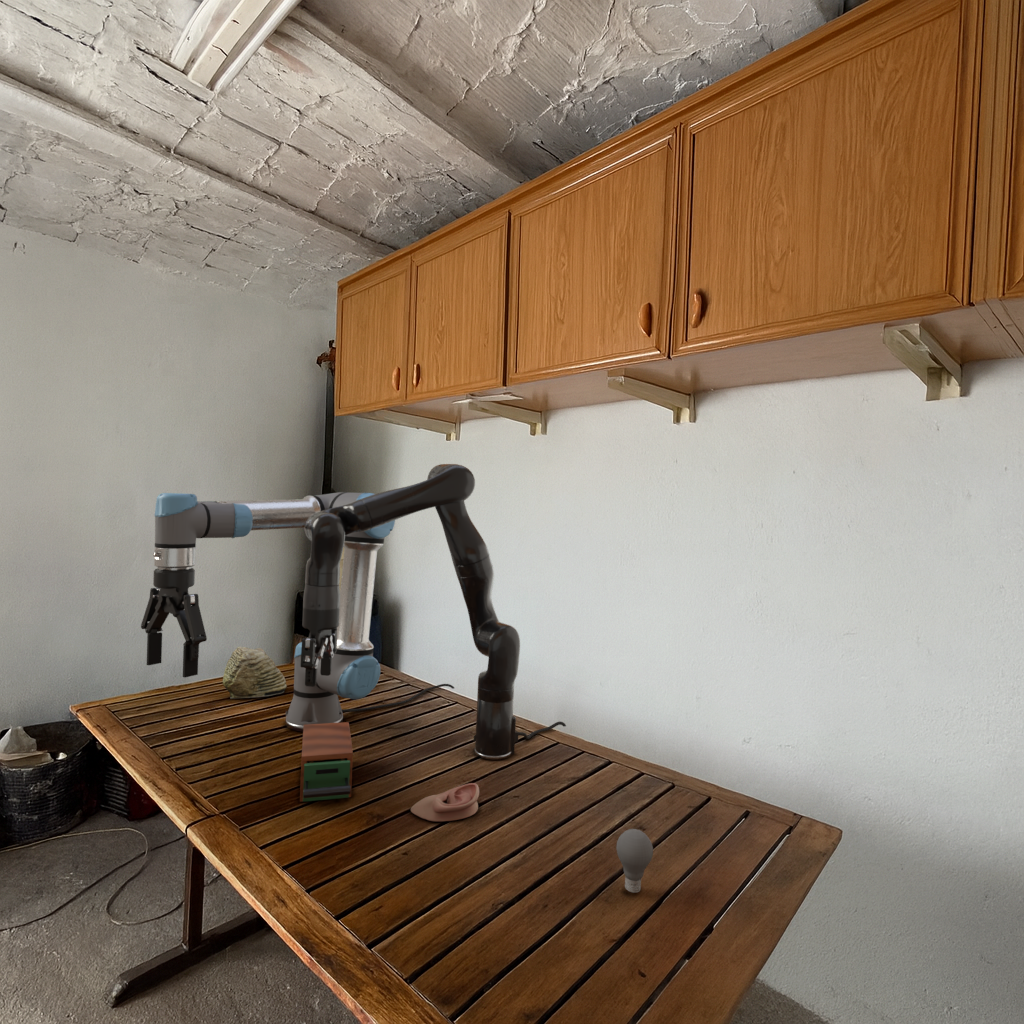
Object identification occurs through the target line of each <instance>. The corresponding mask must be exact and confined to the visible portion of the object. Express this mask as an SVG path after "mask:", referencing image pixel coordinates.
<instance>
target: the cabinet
mask: <svg viewBox="0 0 1024 1024" xmlns="http://www.w3.org/2000/svg"><path fill="white" fill-rule="evenodd" d="M351 737H352V736H351V729H350V722H349V721H346V722H345V721H343V722H341V723H325V724H308V725H304V727H303V732H302V744H301V745H302V746H301V747H302V748H301V760H300V761H301V763H300V764H301V765H300V768H301V769H300V785H299V787H300V788H299V789H300V790H299V803H302V802H303V785H304V764H306V763H309V761H317V760H330V759H343V758H345V760H350V780H349V785H350V794H349V797H348V798H352V783H353V782H352V781H353V757H354V752H353V751H354V750H353V744H352V743H353V742H352V738H351Z"/></svg>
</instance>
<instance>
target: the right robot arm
mask: <svg viewBox="0 0 1024 1024" xmlns="http://www.w3.org/2000/svg"><path fill="white" fill-rule="evenodd" d="M475 486H476V479H475V476H474V474H473V472H472V471H471V469H469V468H468V467H466V466H464V465H462V464H458V463H439V464H437V465H435V466H433V467H432V468H431V469H430V471H429V472H428V475H427V479H425V480H423V481H420V482H418V483H414V484H411V485H407V486H403V487H399V488H394V489H390V490H385V491H381V492H378V493H373V494H374V495H371V496H368V497H365V498H362V499H360V500H357V501H354V502H352V503H350V504H347V505H343V506H338V507H334V508H330V509H327V510H323V511H320V512H317V513H315V514H313V515H312V516H310V517H309V518H308V520H307V521H306V523H305V528H304V533H305V536H306V537H307V539H308V540H309V541H310V542H311V547H310V548H311V549H310V557H309V558H308V559H307V561H306V565H305V579H304V580H305V581H304V583H305V585H304V591H303V601H302V624H301V626H302V628H304V629H306V630H308V631H309V634H308V637H302V640H301V642H302V649H301V664H300V666H301V667H304V668H306V670H305V685H306V686H310V687H314V686H315V685H316V683H317V666H318V662H319V660H320V659H321V670H320V674H321V675H324V676H329V675H330V674H331V665H332V658H333V656H334V653H336V651H337V627H338V626H339V609H340V590H341V588H340V578H341V577H340V576H341V560H342V556H343V553H344V541H345V535H348V534H350V533H353V532H363V531H367V530H370V529H372V528H375V527H378V526H381V525H383V524H386V523H388V522H391V521H394V520H395V521H396V520H399V519H401V518H404V517H407V516H409V515H412V514H415V513H417V512H422V511H425V510H429V509H431V508H434V509H435V510H436V512H437V513H436V514H437V515H438V518H439V520H440V522H441V523H440V524H441V526H442V529H443V532H444V537H445V539H446V543H447V546H448V550H449V553H450V557H451V561H452V564H453V568H454V571H455V574H456V577H457V580H458V583H459V586H460V589H461V593H462V596H463V599H464V603H465V606H466V609H467V613H468V618H469V623H470V628H471V634H472V639H473V643H474V646H475V648H476V650H477V651H478V652H479V653H480V654H481V655H483V656H485V657H486V658H487V659H488V660H487V669H486V670H484V671H481V672H480V673H479V674H478V677H477V694H476V695H477V698H476V701H477V702H476V719H475V734H474V735H473V740H472V741H473V742H474V754H475V755H476V756H477V757H478V758H481V759H484V760H490V761H491V760H492V761H498V760H499V761H500V760H504V759H507V758H509V757H511V756H512V755H515V749H516V748H515V747H516V743H519V737H521V736H522V737H523V738H524V740H526V741H527V740H530V739H532V737H534V736H536V735H538V734H540V733H545V732H547V731H550V730H552V729H554V728H556V727H558V726H562V727H567V725H566V723H565V722H563V721H557V722H554V723H553V724H551V725H549V726H546V727H543V728H540V729H536V730H534V731H532V732H531V733H530V734H529V735H528V734H527V733H526V732H522V731H518V730H517V729H516V727H517V722H516V721H517V717H516V716H515V715H514V701H515V700H514V699H515V698H514V696H515V682H516V680H517V679H516V678H517V676H518V673H519V665H520V655H521V637H520V633H519V631H518V630H517V629H516V628H515V627H514V626H512V625H511V624H507V623H504V622H501V621H500V620H499V618H498V616H497V612H496V610H495V607H494V602H493V588H494V584H495V583H494V581H495V570H494V565H493V562H492V559H491V555H490V552H489V549H488V546H487V544H486V542H485V540H484V538H483V537H482V535H481V533H480V532H479V530H478V529H477V527H476V526H475V525H474V522H473V521H472V520H471V517H470V515H469V513H468V511H467V506H466V502H465V501H466V500H468V499H469V498H470V497H471V496H472V494H473V493H474V490H475ZM305 656H306V660H305ZM322 657H323V658H322ZM314 660H315V661H314ZM309 661H310V662H309Z"/></svg>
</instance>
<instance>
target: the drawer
mask: <svg viewBox="0 0 1024 1024" xmlns="http://www.w3.org/2000/svg"><path fill="white" fill-rule="evenodd" d="M349 780H350V760H345V758H343V759H330V760H317V761H309V763H306V764H304V785H303V802H305V803H306V802H314V801H315V802H316V801H326V800H336V799H347V798H350V797H349V794H350V785H349Z"/></svg>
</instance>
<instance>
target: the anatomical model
mask: <svg viewBox="0 0 1024 1024" xmlns="http://www.w3.org/2000/svg"><path fill="white" fill-rule="evenodd" d="M479 796H480V787H479V785H478V784H477V783H475V782H470V783H466V784H462V785H458V786H456V787H453V788H451V789H448V790H446V791H443V792H441V793H438V794H433V795H429V796H425V797H424V798H421V799H420V800H418V801H417V802H416V803H414V804H413V805H412V806H411V808H410V812H411V813H412V814H414V815H415V816H417V817H419V818H421V819H423V820H427V821H429V822H451V821H457V820H458V821H459V820H462V819H466V818H469V817H471V816H473V815H475V814H476V813H477V812H478V810H479V804H478V799H479Z"/></svg>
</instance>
